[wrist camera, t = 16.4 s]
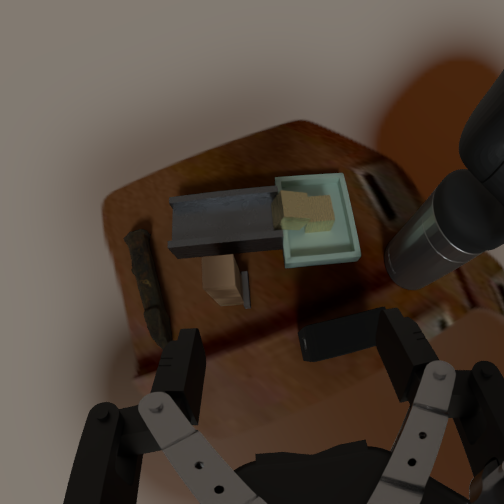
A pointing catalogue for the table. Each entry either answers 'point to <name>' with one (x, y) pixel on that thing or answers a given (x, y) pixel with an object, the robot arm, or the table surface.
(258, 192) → the slot rail
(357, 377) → the table surface
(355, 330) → the electronic device
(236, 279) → the tan wooden block
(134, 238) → the hand tool
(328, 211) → the tan cube
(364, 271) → the table surface
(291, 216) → the pale yellow cube
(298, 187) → the tray
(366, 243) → the table surface
